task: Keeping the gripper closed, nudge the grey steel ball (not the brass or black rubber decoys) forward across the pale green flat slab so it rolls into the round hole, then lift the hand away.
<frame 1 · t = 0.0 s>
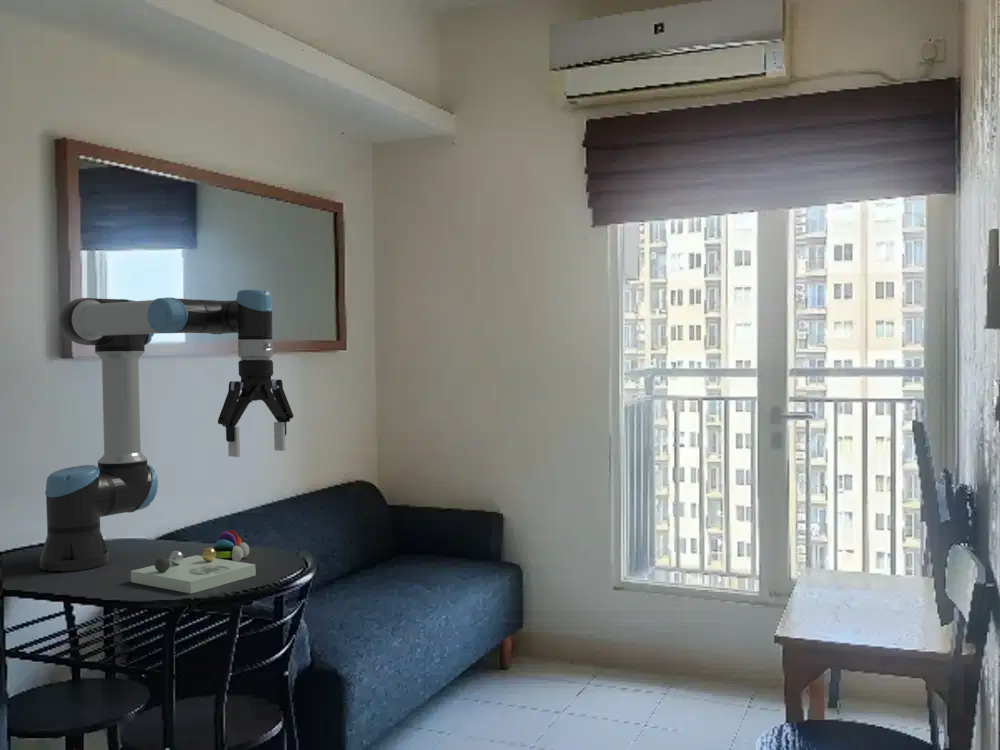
hand: (257, 453, 206), 28 cm above the table, fingers open, 13 cm apart
rainbow disc rolling toy: (228, 561, 224), on the table
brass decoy: (209, 554, 212), point 4 cm above the table, touching pale green flat slab
pale green flat slab: (194, 578, 206), on the table
steel ball: (176, 557, 209), point 4 cm above the table, touching pale green flat slab
rubber decoy: (162, 564, 202), point 4 cm above the table, touching pale green flat slab
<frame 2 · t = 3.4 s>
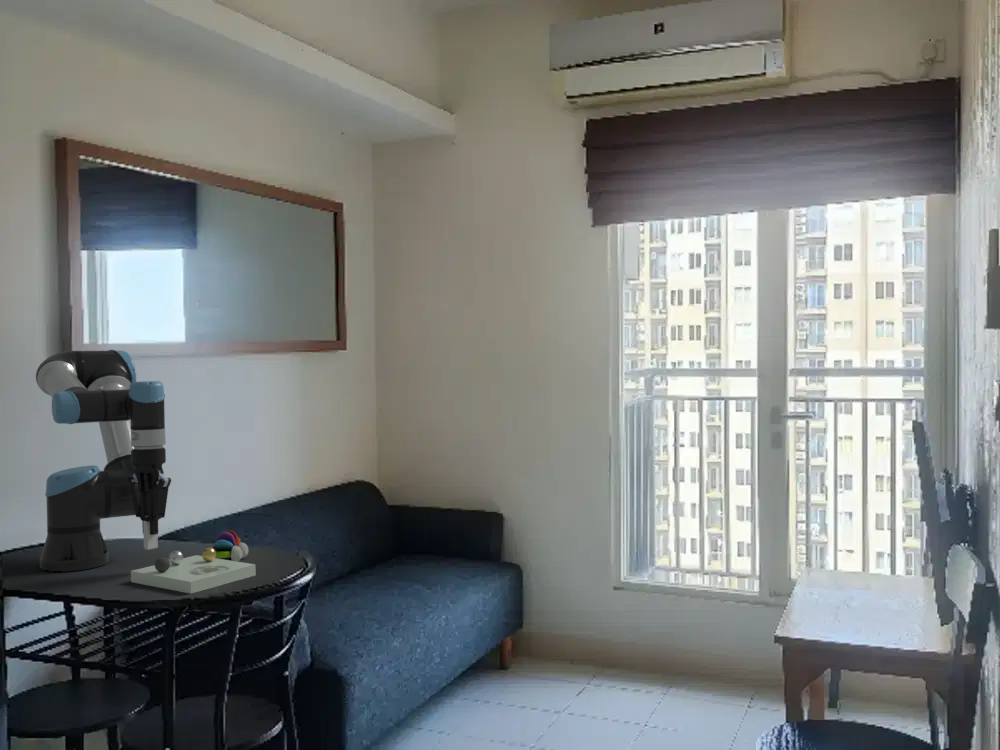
hand: (150, 548, 213), 5 cm above the table, fingers closed
nothing on the table moved.
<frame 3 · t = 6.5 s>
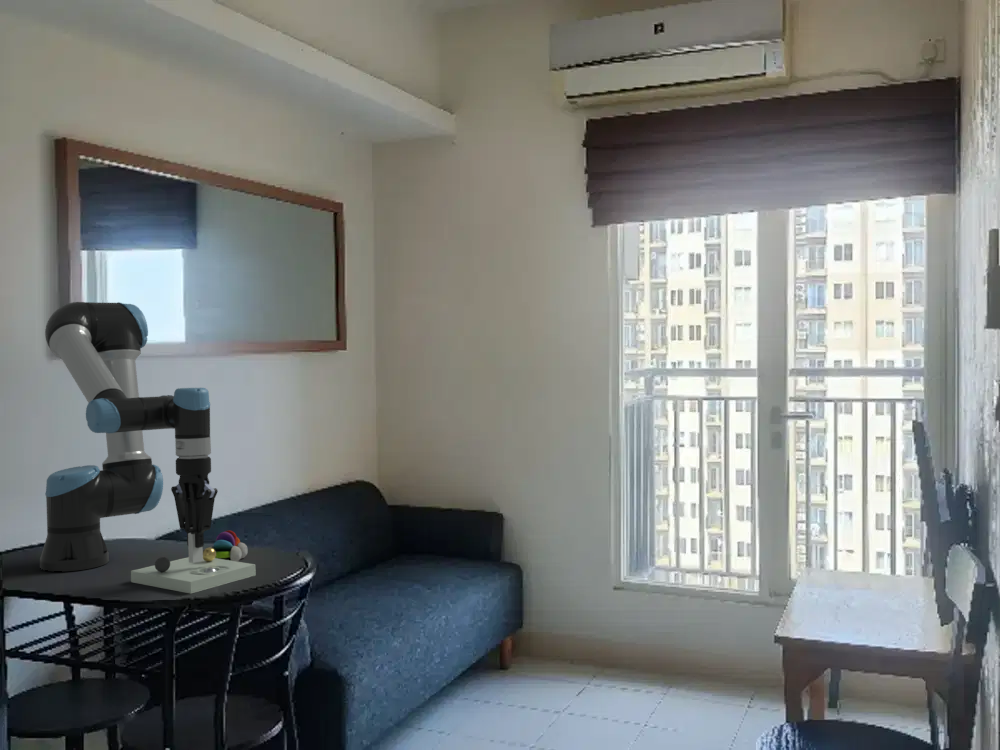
hand: (195, 561, 205), 4 cm above the table, fingers closed
steel ball: (210, 574, 203), point 2 cm above the table, tilted 88°
everything else where it was.
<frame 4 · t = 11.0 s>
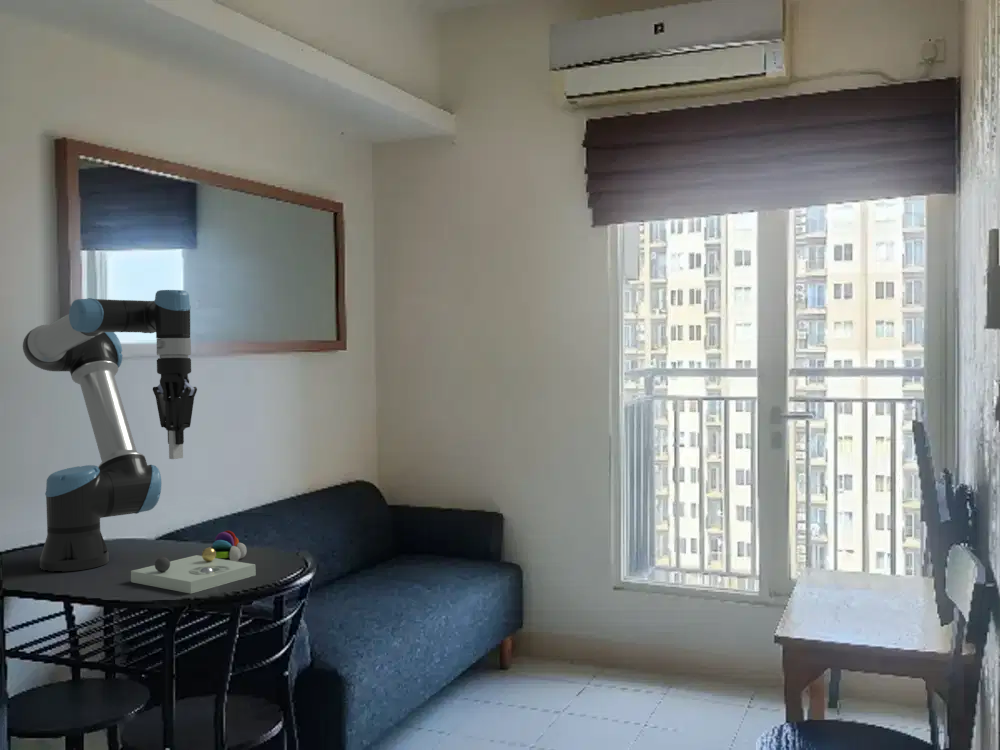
hand: (176, 458, 212), 26 cm above the table, fingers closed
steel ball: (206, 574, 203), point 2 cm above the table, tilted 47°
everything else where it was.
at the end: steel ball 0.6 cm from the target spot in the pale green flat slab, point 1.6 cm above the pale green flat slab's base; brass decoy moved 0.0 cm from its start; rubber decoy moved 0.0 cm from its start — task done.
